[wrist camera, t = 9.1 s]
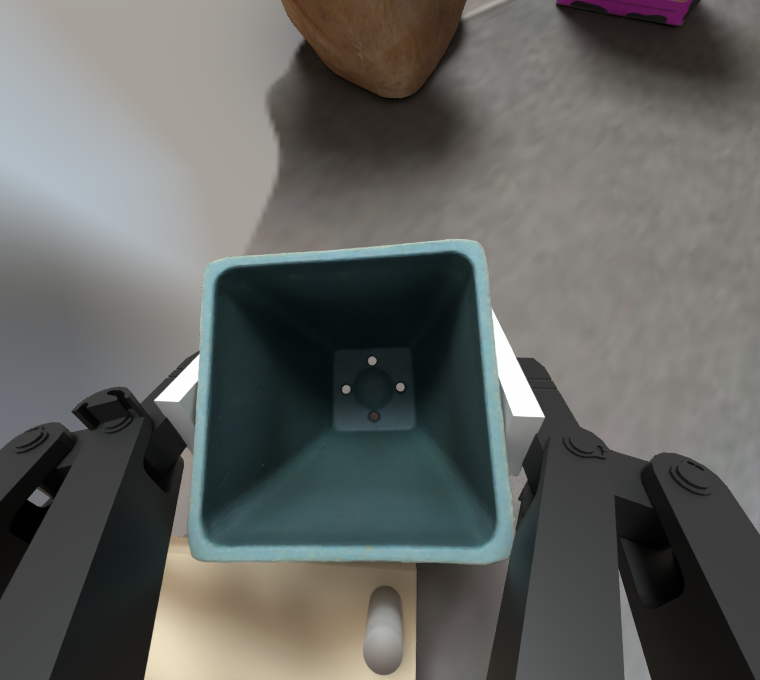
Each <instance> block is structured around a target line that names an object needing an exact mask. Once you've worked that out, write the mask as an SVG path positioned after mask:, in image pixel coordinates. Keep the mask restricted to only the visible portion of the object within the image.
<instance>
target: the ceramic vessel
mask: <svg viewBox="0 0 760 680" xmlns="http://www.w3.org/2000/svg"><path fill="white" fill-rule="evenodd" d="M281 1H282V4H283V6H284V8H285V11H286V13H287V15H288V17H289V18H290V20H291V22H292V23H293V25H294V26H295V27H296V28H297V29H298V31H299V32H300V33H301V34H302V35H303V37H304V38H305V39H306V40H307V41H308V43H309V44H310V45H311V46H312V47H313V49H314V50H315V52H316V53H317V54H318V56H319V57H320V59H321V60H322V61H323V63H324V64H325V65H326V66H327V67H328V68H330V69H331V70H332V71H333V72H334V73H336V74H337V75H339V76H341V77H343V78H344V79H346V80H348V81H350V82H352V83H354V84H356V85H358V86H360V87H362V88H365V89H367V90H369V91H371V92H373V93H375V94H377V95H379V96H381V97H388V98H403V97H407V96H410V95H412V94H414V93H416V92H417V91H418V90H419V89H420V88H421V87H422V85H423V84H424V82H425V81H426V80H427V78H428V77H429V76H430V74H431V73H432V72H433V71H434V69H435V68H436V66H437V64H438V63H439V61H440V60H441V58H442V56H443V55H444V53H445V52H446V50H447V48H448V46H449V44H450V42H451V40H452V38H453V36H454V34H455V32H456V29H457V27H458V24H459V21H460V18H461V14H462V11H463V9H464V6H465V3H466V1H467V0H281Z"/></svg>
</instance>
